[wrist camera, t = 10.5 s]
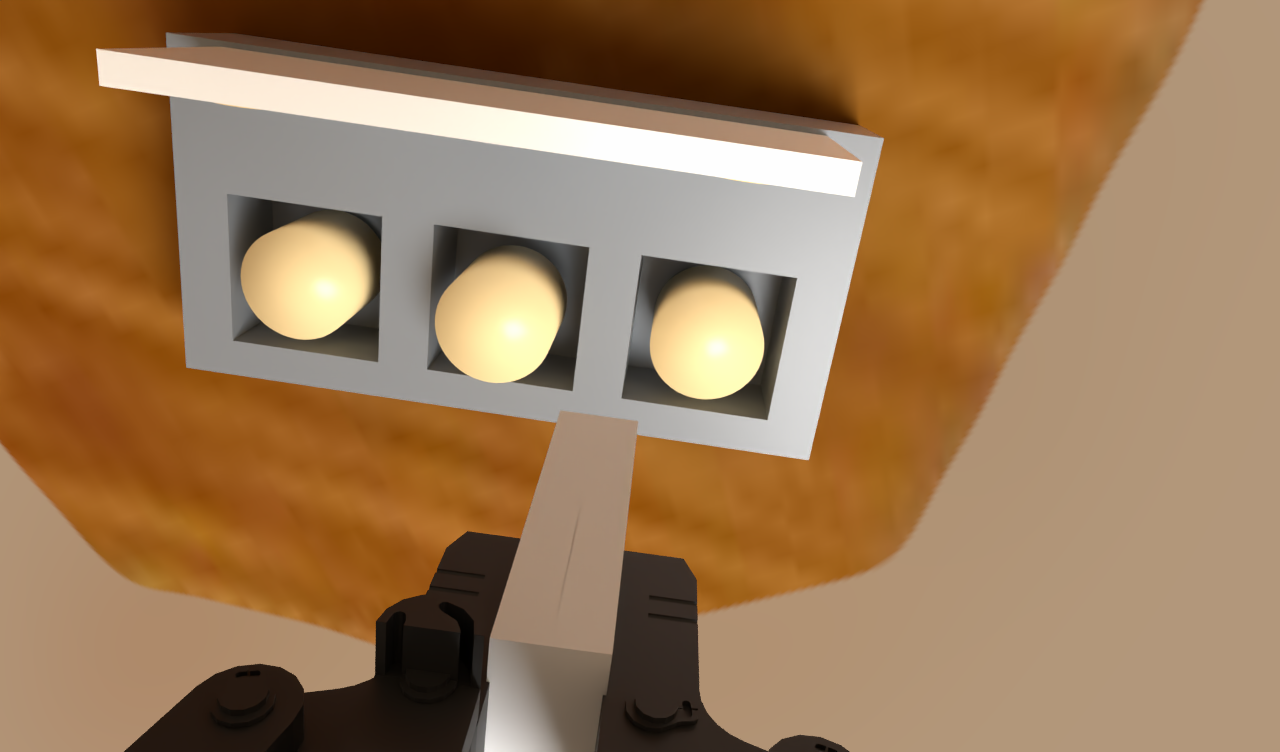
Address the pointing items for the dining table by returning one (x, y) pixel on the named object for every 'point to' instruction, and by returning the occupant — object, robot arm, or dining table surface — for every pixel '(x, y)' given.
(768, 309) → the console
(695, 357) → the button right
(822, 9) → the dining table surface
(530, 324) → the button middle
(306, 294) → the button left
